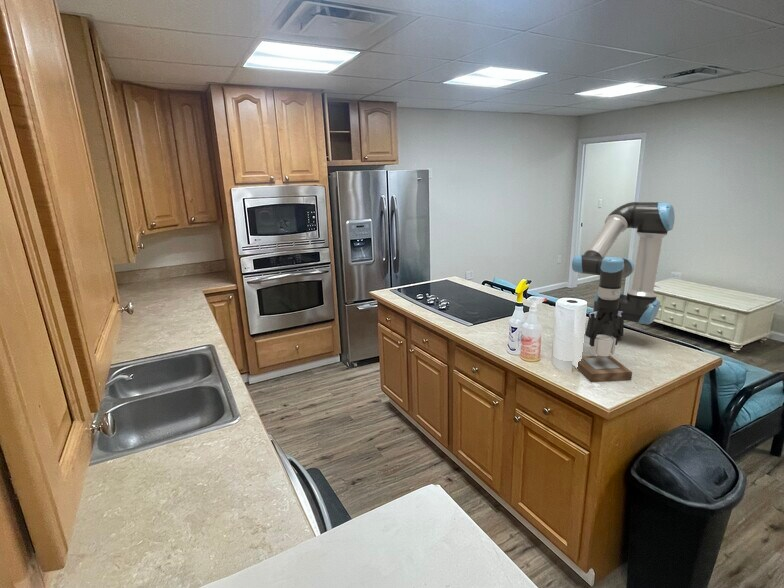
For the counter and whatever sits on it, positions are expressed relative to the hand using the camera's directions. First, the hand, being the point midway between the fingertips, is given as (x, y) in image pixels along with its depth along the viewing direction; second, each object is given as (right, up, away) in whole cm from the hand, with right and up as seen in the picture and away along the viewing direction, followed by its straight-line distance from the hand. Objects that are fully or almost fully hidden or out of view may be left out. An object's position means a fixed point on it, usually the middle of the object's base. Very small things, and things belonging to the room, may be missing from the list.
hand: (602, 352), depth 168 cm
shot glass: (0, -1, 0) cm, 1 cm away
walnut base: (0, -8, +2) cm, 8 cm away
